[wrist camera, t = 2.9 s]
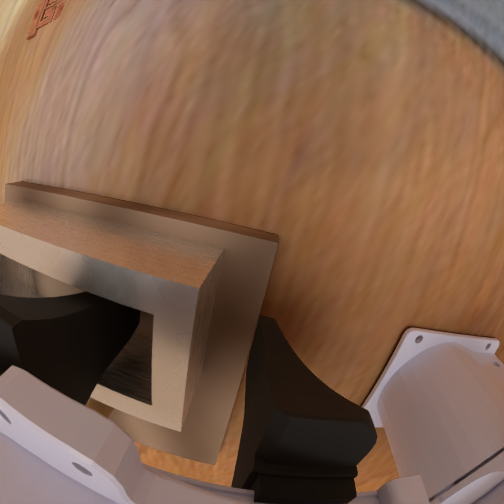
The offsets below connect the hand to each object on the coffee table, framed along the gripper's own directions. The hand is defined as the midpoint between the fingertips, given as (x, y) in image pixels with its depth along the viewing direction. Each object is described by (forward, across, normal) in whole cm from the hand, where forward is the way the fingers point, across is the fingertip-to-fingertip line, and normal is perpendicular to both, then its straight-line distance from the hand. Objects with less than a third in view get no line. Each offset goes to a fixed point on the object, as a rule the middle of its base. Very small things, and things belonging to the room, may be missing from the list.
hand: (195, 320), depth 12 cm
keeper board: (+2, +5, +4) cm, 7 cm away
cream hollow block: (0, +5, 0) cm, 5 cm away
